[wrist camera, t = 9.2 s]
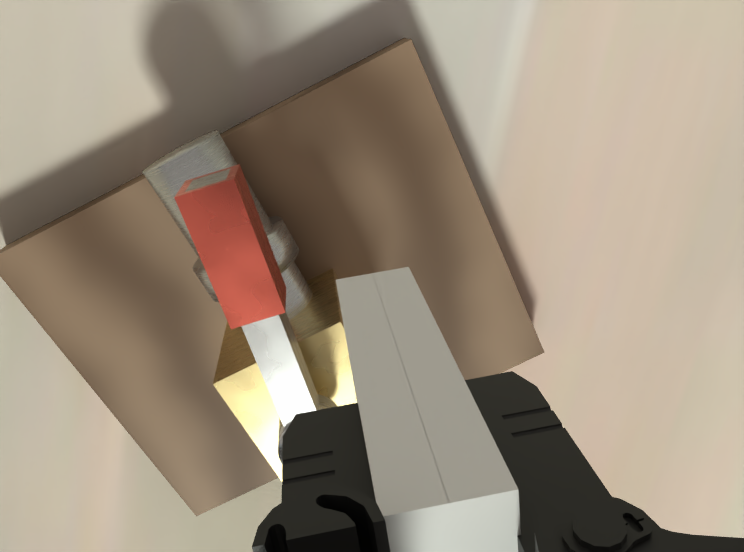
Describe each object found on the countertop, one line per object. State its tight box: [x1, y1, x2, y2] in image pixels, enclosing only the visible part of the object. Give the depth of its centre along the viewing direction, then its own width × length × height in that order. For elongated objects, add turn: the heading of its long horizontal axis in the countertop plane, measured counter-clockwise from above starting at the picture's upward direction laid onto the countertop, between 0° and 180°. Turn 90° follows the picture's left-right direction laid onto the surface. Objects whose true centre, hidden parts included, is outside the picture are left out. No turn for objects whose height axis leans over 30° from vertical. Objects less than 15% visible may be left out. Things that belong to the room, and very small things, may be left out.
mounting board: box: [0, 38, 544, 516], centre depth 33 cm, size 22×18×2 cm
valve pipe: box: [142, 130, 357, 481], centre depth 29 cm, size 6×19×7 cm, turn 26°
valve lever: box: [174, 164, 337, 465], centre depth 23 cm, size 12×3×2 cm, turn 16°
